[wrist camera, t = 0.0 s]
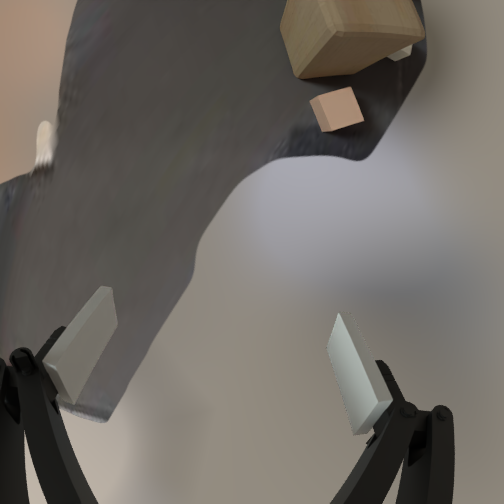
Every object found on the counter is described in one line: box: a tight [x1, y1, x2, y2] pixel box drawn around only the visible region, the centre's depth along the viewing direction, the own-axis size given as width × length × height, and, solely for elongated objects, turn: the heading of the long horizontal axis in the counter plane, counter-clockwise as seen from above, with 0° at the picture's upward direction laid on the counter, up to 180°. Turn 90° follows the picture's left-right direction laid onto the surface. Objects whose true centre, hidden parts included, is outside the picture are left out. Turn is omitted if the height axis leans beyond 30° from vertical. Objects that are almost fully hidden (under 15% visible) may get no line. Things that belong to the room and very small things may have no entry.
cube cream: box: [387, 45, 412, 61], centre depth 28 cm, size 5×5×5 cm
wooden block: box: [280, 0, 425, 79], centre depth 22 cm, size 10×10×20 cm
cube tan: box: [310, 87, 364, 132], centre depth 33 cm, size 5×5×5 cm
